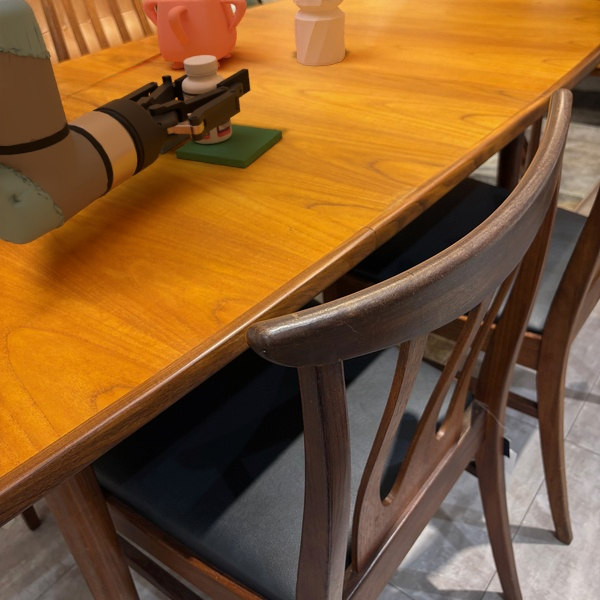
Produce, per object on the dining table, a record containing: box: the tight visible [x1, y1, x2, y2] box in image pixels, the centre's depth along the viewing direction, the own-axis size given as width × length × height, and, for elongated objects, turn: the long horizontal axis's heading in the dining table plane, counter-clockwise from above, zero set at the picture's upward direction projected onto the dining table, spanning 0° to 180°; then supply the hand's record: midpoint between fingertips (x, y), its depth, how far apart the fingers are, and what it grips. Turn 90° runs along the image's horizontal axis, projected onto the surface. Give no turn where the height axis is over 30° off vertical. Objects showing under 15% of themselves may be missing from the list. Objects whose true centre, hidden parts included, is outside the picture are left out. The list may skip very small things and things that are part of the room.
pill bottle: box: [182, 55, 232, 144], centre depth 77 cm, size 5×5×10 cm
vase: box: [292, 0, 346, 67], centre depth 106 cm, size 9×9×12 cm
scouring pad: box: [175, 123, 283, 169], centre depth 79 cm, size 10×10×1 cm
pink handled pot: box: [142, 0, 248, 70], centre depth 109 cm, size 17×16×13 cm
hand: (226, 77), depth 80 cm, fingers closed on pill bottle, 5 cm apart
